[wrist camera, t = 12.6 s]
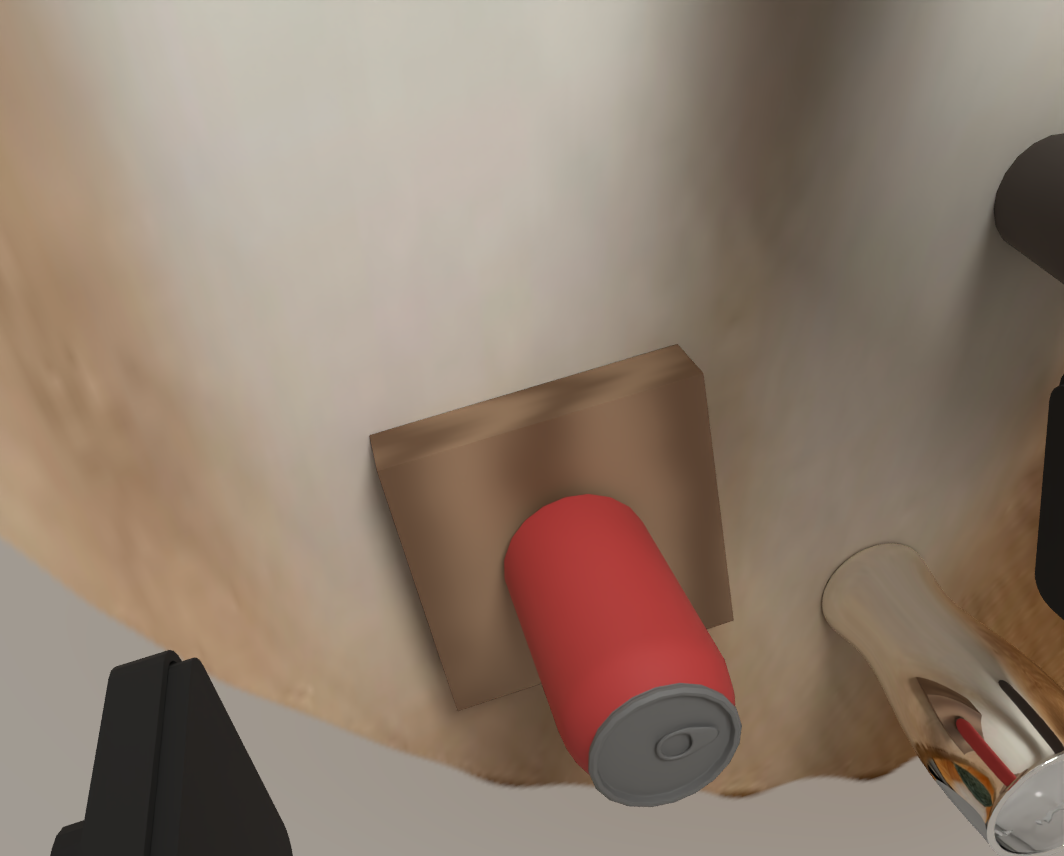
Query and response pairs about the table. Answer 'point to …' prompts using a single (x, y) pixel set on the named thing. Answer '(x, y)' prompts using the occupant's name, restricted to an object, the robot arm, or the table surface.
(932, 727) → the beer glass
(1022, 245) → the coffee cup
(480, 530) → the walnut base
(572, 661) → the beer can
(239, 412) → the table surface
